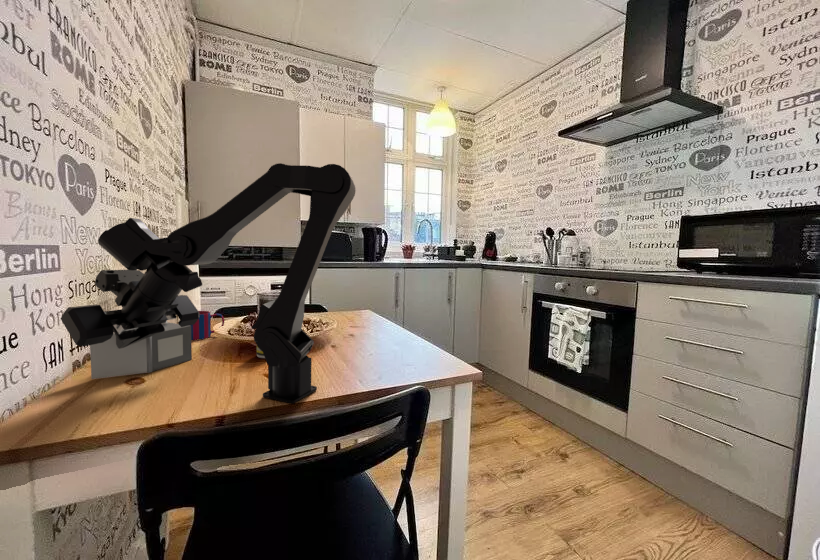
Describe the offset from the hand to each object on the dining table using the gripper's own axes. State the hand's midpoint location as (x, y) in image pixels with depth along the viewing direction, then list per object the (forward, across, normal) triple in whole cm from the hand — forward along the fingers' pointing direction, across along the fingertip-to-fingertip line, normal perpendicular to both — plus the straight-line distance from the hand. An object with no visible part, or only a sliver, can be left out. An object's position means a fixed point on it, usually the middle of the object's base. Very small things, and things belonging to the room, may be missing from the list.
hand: (119, 346), depth 62 cm
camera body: (+7, -9, +2) cm, 12 cm away
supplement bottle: (-4, -23, +13) cm, 27 cm away
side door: (+5, -1, +3) cm, 6 cm away
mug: (+15, -28, -6) cm, 32 cm away
